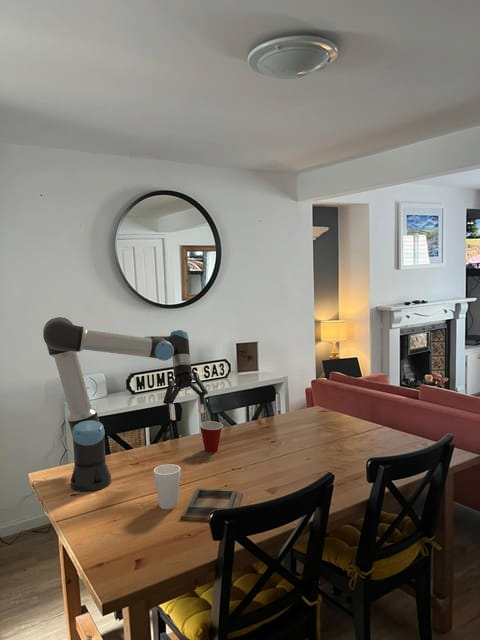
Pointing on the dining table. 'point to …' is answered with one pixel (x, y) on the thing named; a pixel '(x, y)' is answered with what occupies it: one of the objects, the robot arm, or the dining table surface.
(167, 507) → the foam cup
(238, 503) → the holder board
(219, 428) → the plastic cup
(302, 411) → the dining table surface
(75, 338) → the robot arm
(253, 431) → the dining table surface
